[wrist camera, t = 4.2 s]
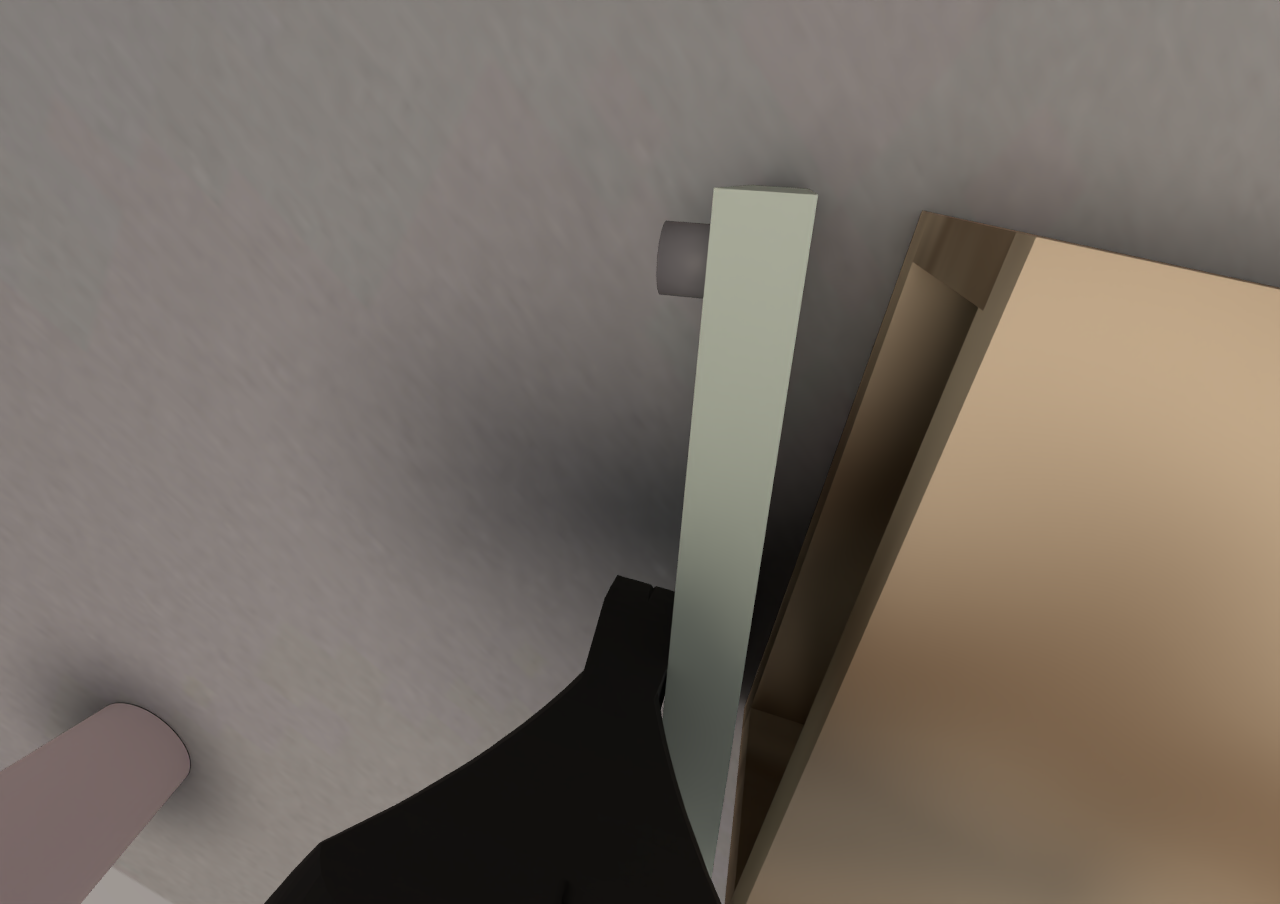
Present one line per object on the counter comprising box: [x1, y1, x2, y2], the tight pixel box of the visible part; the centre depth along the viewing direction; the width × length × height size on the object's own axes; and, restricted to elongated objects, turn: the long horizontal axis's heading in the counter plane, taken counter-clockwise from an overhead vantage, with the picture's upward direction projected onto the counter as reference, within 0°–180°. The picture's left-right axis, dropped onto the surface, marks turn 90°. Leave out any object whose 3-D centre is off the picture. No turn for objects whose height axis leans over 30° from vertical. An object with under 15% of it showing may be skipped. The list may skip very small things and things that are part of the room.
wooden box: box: [725, 211, 1280, 904], centre depth 11 cm, size 12×8×6 cm, turn 169°
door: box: [656, 185, 818, 878], centre depth 11 cm, size 12×2×6 cm, turn 177°
